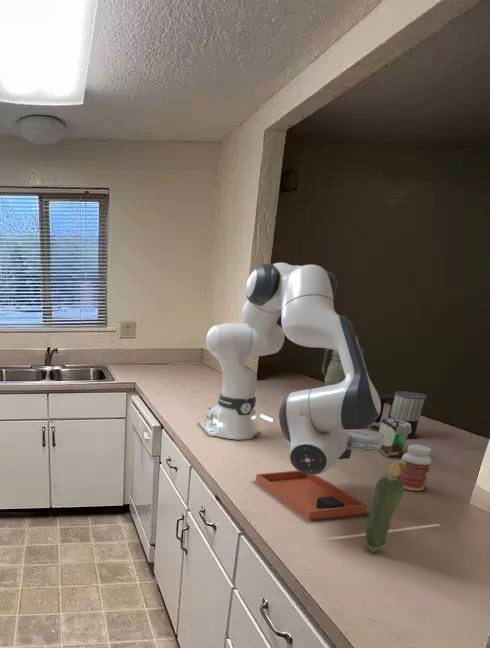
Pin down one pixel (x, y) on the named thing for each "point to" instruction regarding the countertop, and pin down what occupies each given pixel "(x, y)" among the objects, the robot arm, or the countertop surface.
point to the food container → (394, 435)
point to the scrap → (328, 503)
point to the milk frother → (403, 409)
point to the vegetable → (384, 506)
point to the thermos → (334, 368)
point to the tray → (309, 494)
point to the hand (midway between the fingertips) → (340, 426)
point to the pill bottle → (415, 467)
